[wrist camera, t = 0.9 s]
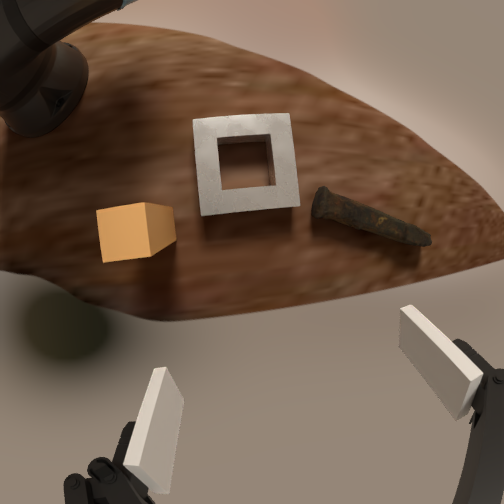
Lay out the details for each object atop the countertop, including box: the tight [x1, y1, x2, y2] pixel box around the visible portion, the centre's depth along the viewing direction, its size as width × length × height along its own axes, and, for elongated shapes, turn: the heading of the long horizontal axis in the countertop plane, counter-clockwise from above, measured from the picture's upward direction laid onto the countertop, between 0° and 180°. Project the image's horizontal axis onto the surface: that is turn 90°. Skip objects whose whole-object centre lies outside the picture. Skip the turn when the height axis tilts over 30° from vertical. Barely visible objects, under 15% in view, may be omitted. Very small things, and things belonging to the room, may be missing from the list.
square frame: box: [193, 113, 300, 216], centre depth 32 cm, size 11×11×4 cm
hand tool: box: [312, 186, 432, 247], centre depth 35 cm, size 19×4×5 cm, turn 72°
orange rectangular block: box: [96, 202, 176, 262], centre depth 27 cm, size 4×4×14 cm
